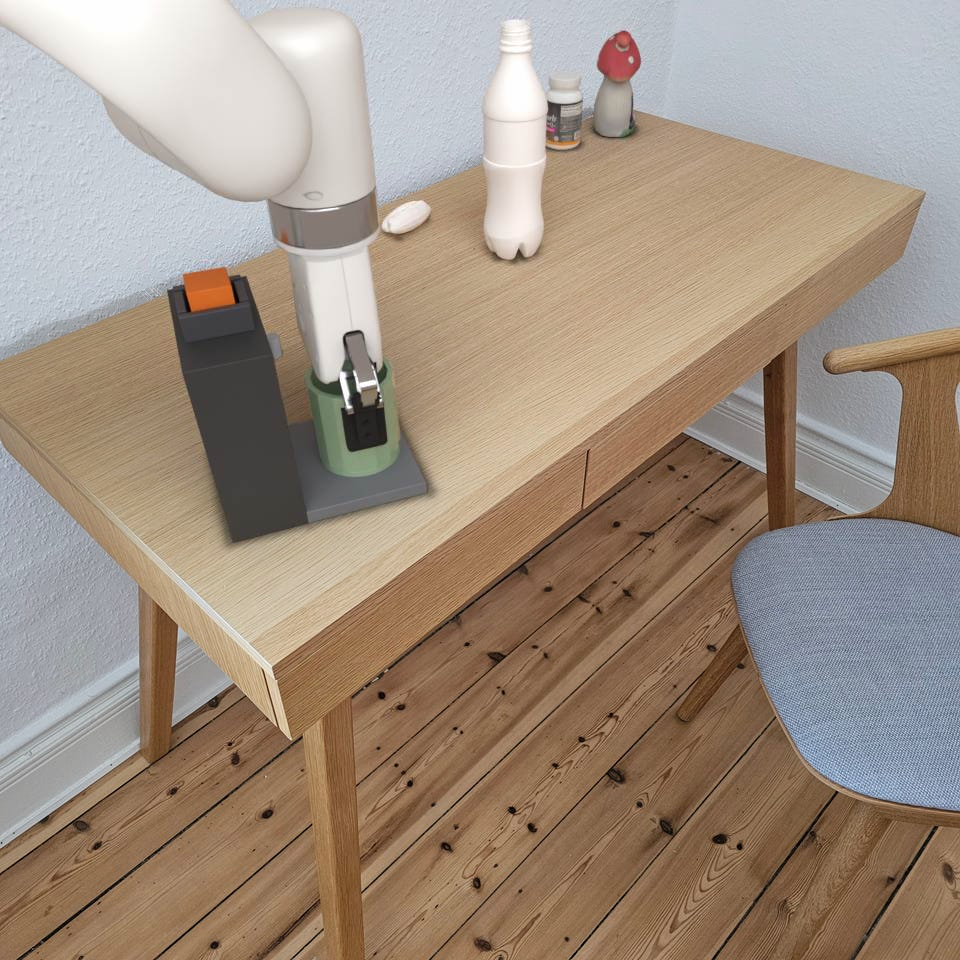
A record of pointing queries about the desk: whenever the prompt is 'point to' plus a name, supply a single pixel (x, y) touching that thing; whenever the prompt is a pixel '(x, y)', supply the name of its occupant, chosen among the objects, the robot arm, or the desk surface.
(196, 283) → the button
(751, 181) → the desk surface
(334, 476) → the coffee maker
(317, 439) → the cup
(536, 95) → the water bottle
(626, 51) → the decorative ornament
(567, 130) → the pill bottle
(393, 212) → the white oval pebble
